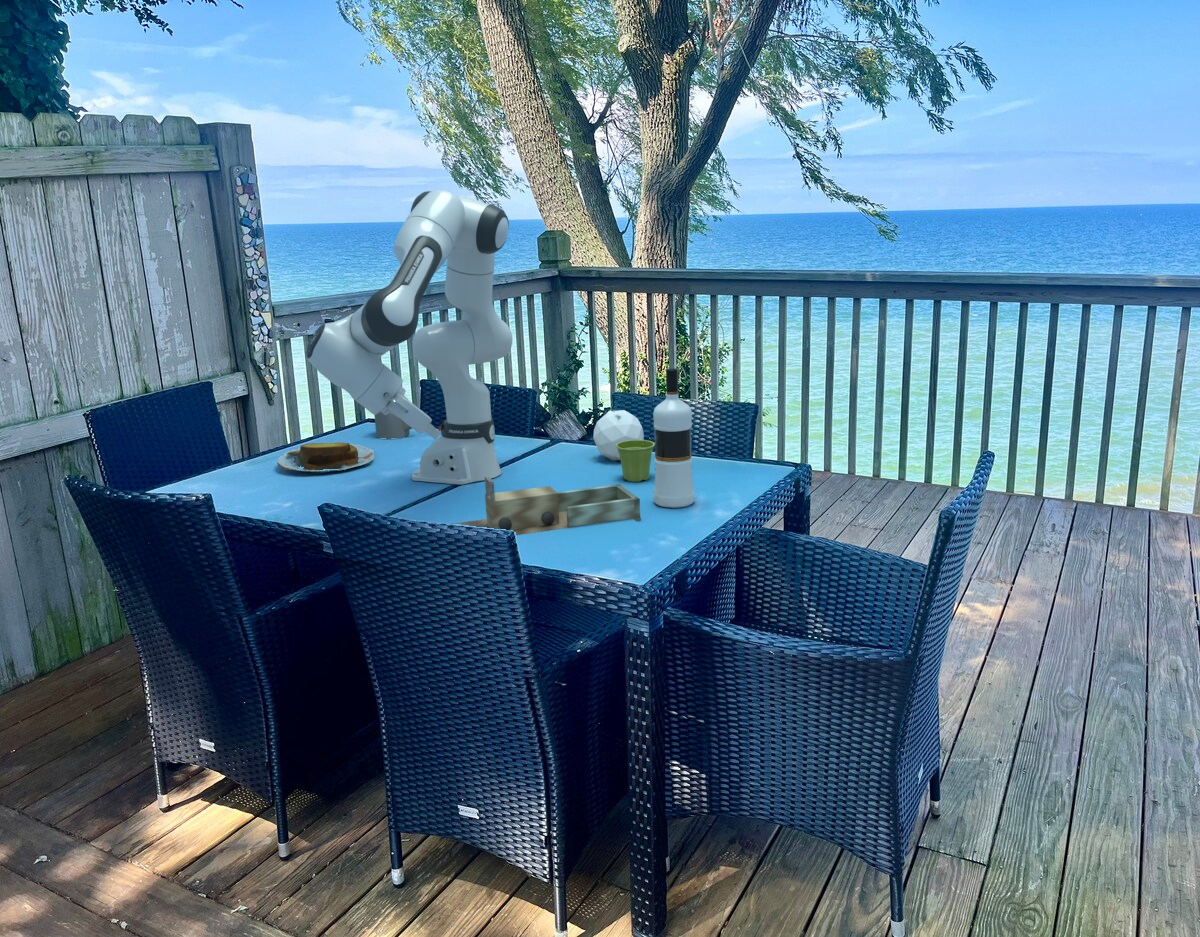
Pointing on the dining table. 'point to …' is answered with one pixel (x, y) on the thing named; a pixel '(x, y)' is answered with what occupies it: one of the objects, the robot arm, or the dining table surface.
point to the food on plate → (325, 457)
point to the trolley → (520, 507)
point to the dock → (586, 508)
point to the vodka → (673, 448)
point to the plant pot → (635, 459)
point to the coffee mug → (390, 426)
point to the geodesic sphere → (616, 432)
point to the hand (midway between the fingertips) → (437, 435)
